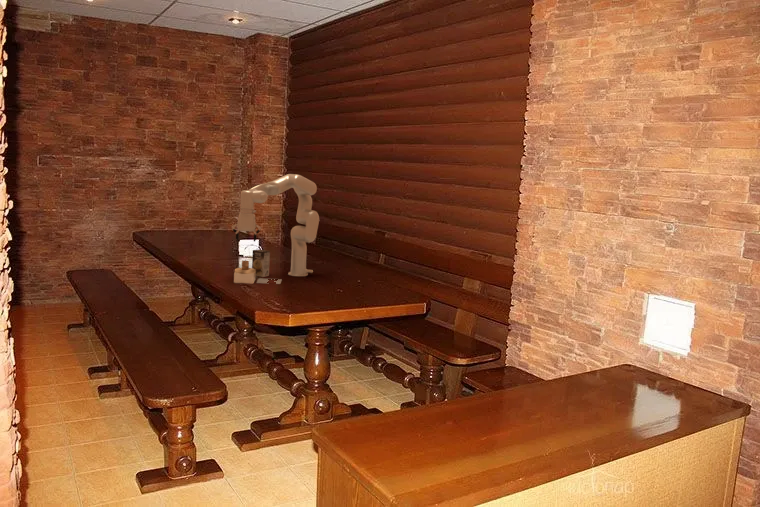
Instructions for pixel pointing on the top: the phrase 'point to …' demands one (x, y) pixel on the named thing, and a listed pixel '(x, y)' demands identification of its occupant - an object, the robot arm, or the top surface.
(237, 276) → the small beige box
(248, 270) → the lid
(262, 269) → the coffee box
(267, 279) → the mat
